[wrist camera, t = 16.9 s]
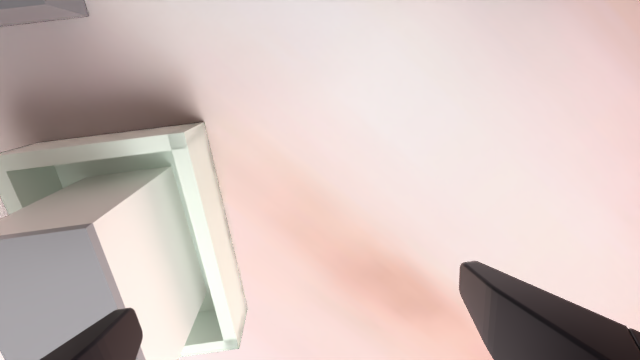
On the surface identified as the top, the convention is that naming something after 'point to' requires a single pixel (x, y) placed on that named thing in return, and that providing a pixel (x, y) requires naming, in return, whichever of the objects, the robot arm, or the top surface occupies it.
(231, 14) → the top surface
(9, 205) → the tray
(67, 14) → the dock
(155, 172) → the grey rectangular block
